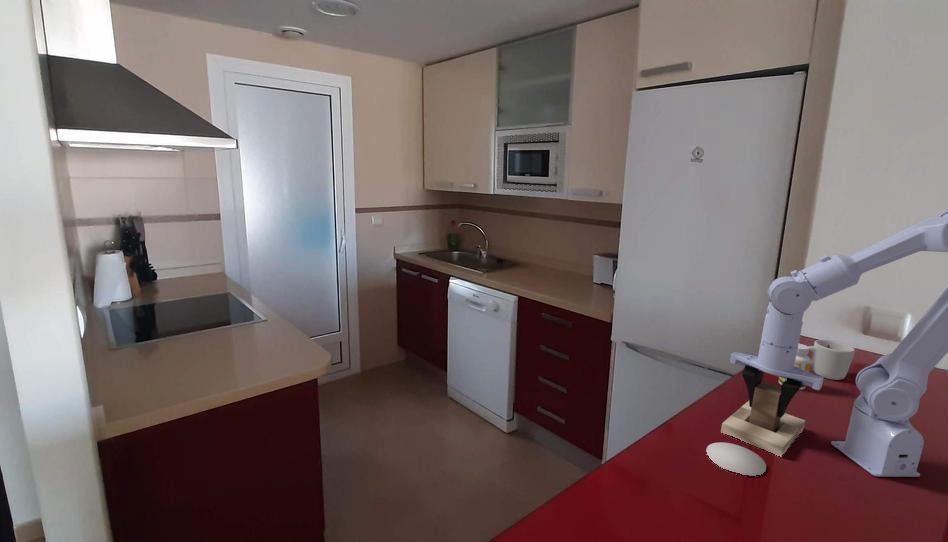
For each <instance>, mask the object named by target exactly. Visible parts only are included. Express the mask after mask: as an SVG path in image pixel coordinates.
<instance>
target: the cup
mask: <svg viewBox="0 0 948 542" xmlns="http://www.w3.org/2000/svg"><path fill="white" fill-rule="evenodd" d="M807 346H808V345H807ZM808 347H809V352H811V354H812V355H811V357H810V359H811V362H810V367H812V370H813V373H814V374H815V375H818V376H821V377H824V378H823V379H828V380H834V381H838V380H839V381H840V380H844V379H845V378H846V376H847V373H848V372H849V369H850V367H851V363H852V361H853V359H854V356H855V353H856V349H855V348H854V347H853V346H852V345H849V344H846V343H843V342H840V341H836V340H829V339H817V340H815V341H814V343H813V345H809V346H808Z"/></svg>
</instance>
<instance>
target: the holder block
mask: <svg viewBox="0 0 948 542" xmlns="http://www.w3.org/2000/svg"><path fill="white" fill-rule="evenodd" d="M751 408H752V407H750V406H749V400H748V401H746V402H745V403H744V404H743V405H742V406H740V407H739V408H738V409H737V410H736V411H735V412H734V413H731V415H730V416H729V417H727V419H725V420H724V421H723V422H722V423H721V429H720V434H722V433H723V434H722V435H725V434H727V435H730V436H733V437H735V438H738V439H740V440H741V441H740V442H742V441H744V442H746V443H745V444H747V443H749V444H751V445H754V446H756V447H758V448H757V449H759V448H761V449H764V450H766V451H768V452H771V453H773V454H775V455H774V456H776V455H777V456H776V457H778V456H780V457H781V458H782V457H783V456H784V455H785V453H786V452H787V451H788V450H789V449H790V447H791V446H792V445H793V444H794V442H795V441H796V440H797V439H798V437H799V436H800V435H801V434H802V432H803V431H804V430H803V429H805V425H806V419H802V418H799V417H796V416H794V415H791V414H788V413H786V412H785V413H784V415H783V416H782V417H781V418H780V423H779V428H778V429H777V430H776V431H775V432H772V431H769V430H767V429H764V428H762V427H759V426H756V425H754V424H751V423H749V419H750V413H751ZM800 433H801V434H800ZM799 434H800V435H799ZM727 435H726V436H727ZM798 435H799V436H798ZM730 436H729V437H730ZM796 438H797V439H796ZM795 439H796V440H795ZM744 442H743V443H744ZM792 443H793V444H792ZM749 444H748V445H749ZM791 444H792V445H791ZM751 445H750V446H751ZM754 446H753V447H754ZM756 447H755V448H756ZM788 448H789V449H788ZM761 449H760V450H761ZM787 449H788V450H787ZM766 451H765V452H766ZM768 452H767V453H768ZM771 453H770V454H771ZM773 454H772V455H773ZM783 454H784V455H783ZM782 455H783V456H782ZM780 457H779V458H780Z"/></svg>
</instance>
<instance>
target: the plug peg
mask: <svg viewBox="0 0 948 542" xmlns="http://www.w3.org/2000/svg"><path fill="white" fill-rule="evenodd" d="M780 398H781V386H778V385H775V384H772V383H769V382H765V381H762V380H761V383H760V384H759V385H757V386H756V387H755V391H754V397H753V402H752V408H751V413H750V419H749V423H751V424H754V425H756V426H759V427H762V428H764V429H767V430H769V431H772V432H775V433H776V432H777V431H778V430H777V429H778V428H779V423H780V417H777V411H778V407H779V404H780Z"/></svg>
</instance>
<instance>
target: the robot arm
mask: <svg viewBox="0 0 948 542" xmlns="http://www.w3.org/2000/svg"><path fill="white" fill-rule="evenodd" d="M919 252H935V253H936V252H939V253H948V210H946V211H944V212H942V213H941V214H939V215H934V216H930V217H927V218H924V219H923V220H921V221H919V222H916V223H914V224H913V225H911V226H909V227H907V228H904V229H903V230H901V231H899V232H896V233H894V234H893V235H890V236H889V237H887V238H885V239H883V240H880V241H879V242H876V243H874V244H873V245H870V246H869V247H866V248H863V249H862V250H859V251H858V252H856V253H854V254H852V255H849V256H846V255H842V254H833V255H831V256H829V255H828V254H825V255H822V256H821V257H819V262H817V263H814V264H812V265H809V266H807V267H805V268H803V269H801V270H799V271H797V270H796V269H795V270H792V271H790V275H791V276H786V275H785V276H781V277H777V278H776V279H774V280H773V281H772V282H771V283H770V285H769V287H768V288H767V289H766V290H767V292H766V293H767V296H768V298H769V300H770V301H769V302H768V306H767V309H766V314H765V317H764V322H763V326H762V327H763V328H762V332H761V338H760V344H759V348H758V349H759V351H758V355H752V354H746V353H742V352H738V351H734V352H732V353H731V354H730V359H729V360H730V362H729V363H730V364H732V365H739V366H742V367H744V368H743V370H742V371H741V376H742V378H743V381H744V382H745V383H744V384H745V386H746V390H747V393H748V401H749V406H750V407H752V402H753V397H754V391H755V387H756V386H757V385H759V384H760V383H761V382H762V379H763V378H764V373H766V374H768V375H770V376H771V375H772V376H775V377H778V378H779V377H781V378H784V379H787V380H786V381H784V382H783V383H782V385H781V386H780V387H781V398H780V404H779V407H778V411H777V417H780V418H781V417H782V416H783V415H784V413H786V410H787V408H788V406H789V405H790V402H791V401H792V400H793V398H794V397H795V396H796V394H797V393H798V392H799V391H800V390H799V389H800V388H801V387H802V386H803V385H806V387H810V388H811V389H812V390H816V391H820V390H821V389H822V387H823V384H824V379H825V378H824V377H821V376H819V375H817V374H816V373H812V372H810V371H809V372H807V371H805V370H802V369H800V368H797V367H795V366H794V365H795V360H796V355H797V350H798V344H800V338H801V333H802V329H803V324H804V323H803V318H804V312H806V311H807V310H808V309H809V307H810V306H811V305H812V302H815V301H816V302H818V301H820V300H822V299H824V298H827V297H829V296H832V295H834V294H837V293H839V292H841V291H844V290H845V289H848V288H851V287H852V286H855V285H857V284H858V282H859V281H860V278H861V276H862V275H863V274H864V273H866V272H869V271H871V270H874V269H877V268H879V267H882V266H885V265H888V264H891V263H893V262H896V261H899V260H901V259H903V258H905V257H909V256H912V255H914V254H916V253H919ZM946 355H948V286H947V287H946V288H945V290H944V291H943V292H942V293H941V294H940V296H939V297H938V298H937V299H936V300H935V302H934V303H933V304H932V305H931V306H930V308H928V310H926V312H925V313H924V314H923V315H922V317H921V318H920V319H919V320H918V322H917V323H916V324H915V325H914V326H913V327H912V329H911V330H910V331H909V332H908V333H907V334H906V335H905V337H904V338H903V339H902V340H901V341H900V343H898V345H897V346H896V348H894V349H893V351H892V352H891V353H888V354H884V355H882V356H880V357H879V358H878V359H877V360H876V362H875V361H874V363H872V364H871V365H868V366H866V367H864V368H862V369H861V370H860V371H859V372H858V373H857V375H856V377H855V384H856V387H857V389H858V391H859V392H860V394H859V395H858V397H857V398H855V399H854V402H853V407H852V411H851V414H850V415H851V416H850V419H849V422H848V423H849V424H848V428H847V432H846V437H845V439H844V440H845V441H844V440H843V441H841V440H839V441H835V440H834V441H831V442H830V444H831V446H833V447H834V448H835V449H837V450H839V451H840V452H841V453H843V454H844V455H845V456H847V457H848V458H849V459H851V460H852V461H853V462H854V463H856V464H857V465H858V466H860V467H861V468H862V469H864V470H865V471H867V472H868V473H870V474H871V475H872V476H874V477H887V478H888V477H894V478H895V477H900V478H901V477H908V478H909V477H911V478H916V477H917V478H919V477H920V476H921V473H920V472H918V467H919V463H920V460H921V456H922V452H923V448H924V445H925V441H924V437H923V435H922V434H921V432H919V431H918V430H917V429H916V428H915V427H913V425H912V424H911V422H910V420H909V419H910V418H912V417H913V416H914V415H916V413H917V412H918V411H919V407H920V399H921V398H922V396H923V395H924V394H925V393H926V391H927V389H928V378H929V375H930V373H931V372H932V370H934V369H935V367H936V366H938V364H939V363H940V362H941V361H942V360H943V358H944V357H945V356H946Z"/></svg>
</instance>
